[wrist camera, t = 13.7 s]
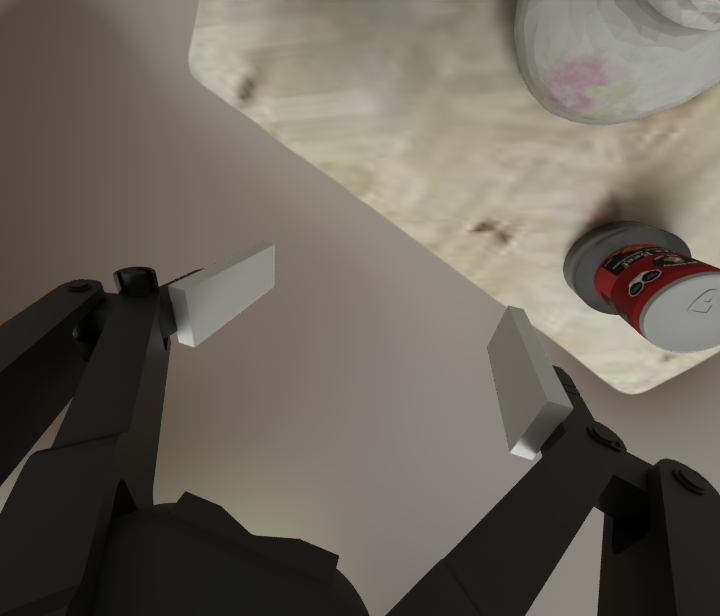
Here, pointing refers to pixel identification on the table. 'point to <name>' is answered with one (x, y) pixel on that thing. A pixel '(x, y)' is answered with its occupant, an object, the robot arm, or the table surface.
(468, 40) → the table surface
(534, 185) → the table surface
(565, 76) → the ceramic pitcher
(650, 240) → the pedestal
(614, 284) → the canned food
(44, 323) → the robot arm
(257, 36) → the table surface
